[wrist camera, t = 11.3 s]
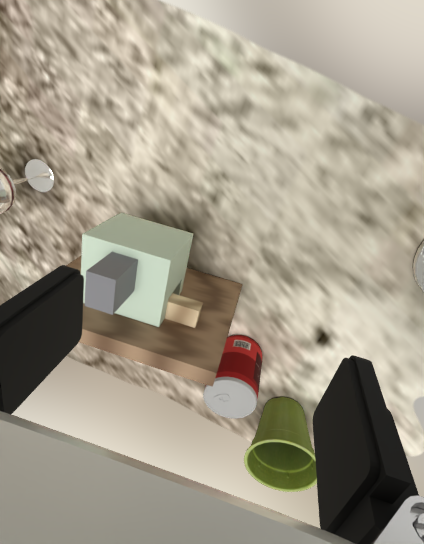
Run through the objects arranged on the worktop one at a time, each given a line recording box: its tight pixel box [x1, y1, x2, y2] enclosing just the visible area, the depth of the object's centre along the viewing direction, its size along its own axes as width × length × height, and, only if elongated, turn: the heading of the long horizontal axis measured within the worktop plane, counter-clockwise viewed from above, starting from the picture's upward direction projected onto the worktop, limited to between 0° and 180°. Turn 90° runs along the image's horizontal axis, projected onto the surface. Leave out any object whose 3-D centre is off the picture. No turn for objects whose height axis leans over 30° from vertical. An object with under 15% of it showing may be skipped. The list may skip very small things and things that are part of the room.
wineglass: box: [0, 159, 54, 214], centre depth 45 cm, size 7×7×12 cm
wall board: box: [67, 255, 242, 387], centre depth 45 cm, size 24×10×20 cm, turn 77°
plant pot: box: [244, 397, 317, 492], centre depth 56 cm, size 12×12×11 cm
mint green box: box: [81, 213, 193, 327], centre depth 38 cm, size 10×9×14 cm
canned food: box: [203, 335, 262, 418], centre depth 52 cm, size 8×8×11 cm
